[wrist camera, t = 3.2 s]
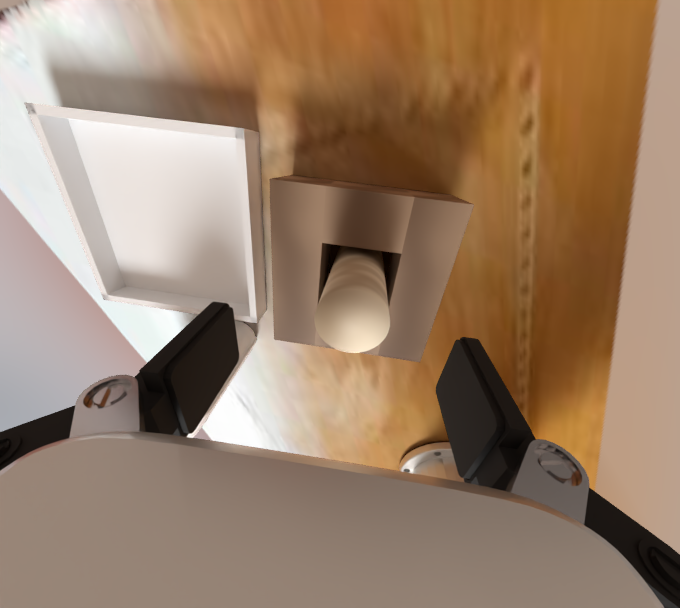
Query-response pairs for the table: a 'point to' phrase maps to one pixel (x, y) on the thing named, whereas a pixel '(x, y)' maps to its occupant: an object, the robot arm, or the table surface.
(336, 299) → the dowel
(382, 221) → the holder
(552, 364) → the table surface
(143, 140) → the tray
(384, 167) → the table surface
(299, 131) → the table surface
